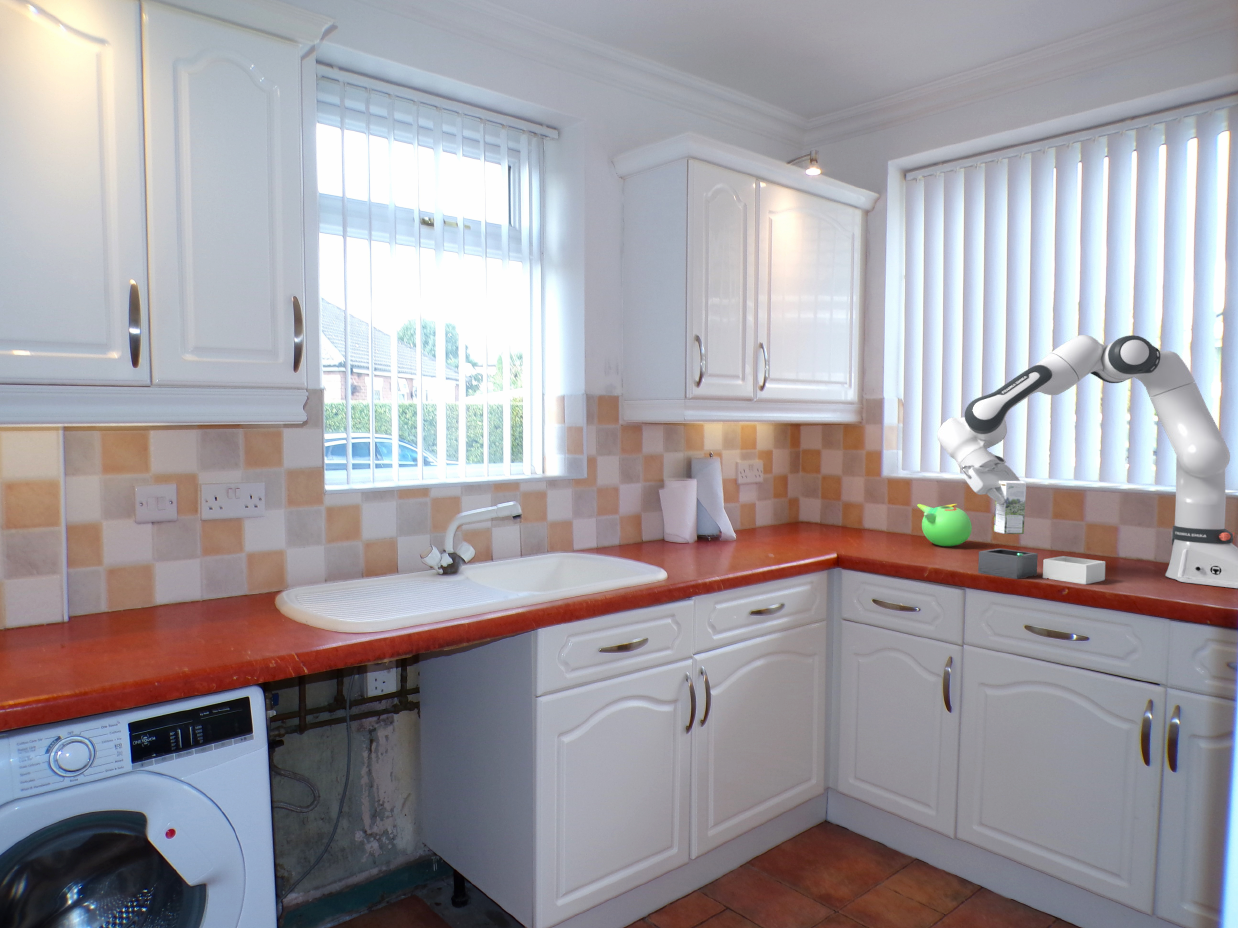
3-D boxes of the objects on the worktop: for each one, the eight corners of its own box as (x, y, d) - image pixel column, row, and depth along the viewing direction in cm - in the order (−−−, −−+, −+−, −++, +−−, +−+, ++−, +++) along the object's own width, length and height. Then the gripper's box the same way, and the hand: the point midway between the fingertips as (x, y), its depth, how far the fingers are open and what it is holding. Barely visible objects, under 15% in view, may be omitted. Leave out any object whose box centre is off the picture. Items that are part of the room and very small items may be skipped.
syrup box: (1013, 531, 227) (1015, 480, 227) (1024, 534, 222) (1026, 481, 221) (993, 531, 227) (995, 480, 226) (1004, 534, 221) (1006, 481, 221)
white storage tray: (1104, 580, 217) (1105, 561, 217) (1085, 584, 211) (1086, 565, 210) (1062, 573, 226) (1063, 556, 226) (1042, 577, 219) (1043, 559, 219)
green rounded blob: (977, 550, 268) (978, 506, 268) (924, 548, 271) (925, 505, 270) (963, 543, 286) (964, 501, 285) (913, 541, 289) (914, 500, 288)
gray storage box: (1037, 574, 224) (1038, 551, 223) (1017, 578, 217) (1017, 554, 217) (998, 569, 232) (999, 546, 232) (978, 572, 226) (978, 549, 226)
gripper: (967, 458, 223) (1000, 496, 215) (1005, 457, 235) (1038, 493, 227) (951, 473, 227) (983, 511, 219) (990, 472, 239) (1022, 508, 231)
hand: (1012, 502), depth 223 cm, fingers closed on syrup box, 7 cm apart
